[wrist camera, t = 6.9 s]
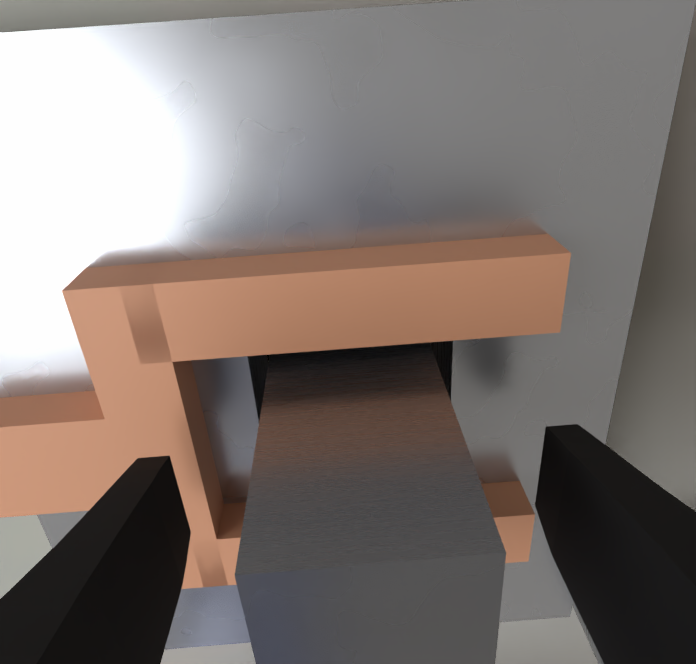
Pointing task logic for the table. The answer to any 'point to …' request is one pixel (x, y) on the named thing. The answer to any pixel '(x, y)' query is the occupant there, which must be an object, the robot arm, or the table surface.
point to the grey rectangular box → (366, 517)
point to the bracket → (250, 340)
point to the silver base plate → (345, 199)
